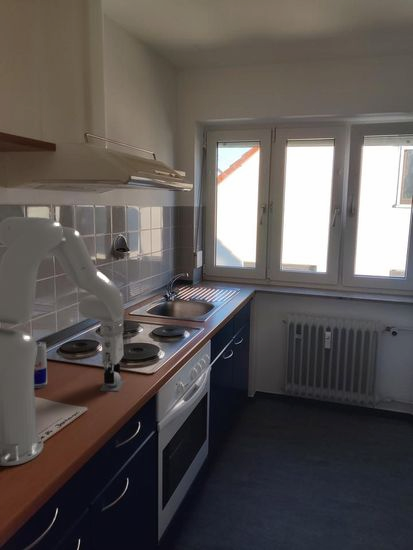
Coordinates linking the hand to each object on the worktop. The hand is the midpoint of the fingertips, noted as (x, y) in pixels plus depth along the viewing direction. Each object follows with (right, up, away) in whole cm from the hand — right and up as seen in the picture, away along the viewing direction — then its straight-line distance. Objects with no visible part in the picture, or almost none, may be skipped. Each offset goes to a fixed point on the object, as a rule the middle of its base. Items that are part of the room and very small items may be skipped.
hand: (112, 378), depth 147 cm
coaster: (0, -3, +1) cm, 3 cm away
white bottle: (-25, -2, -1) cm, 25 cm away
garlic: (0, -2, 0) cm, 2 cm away
